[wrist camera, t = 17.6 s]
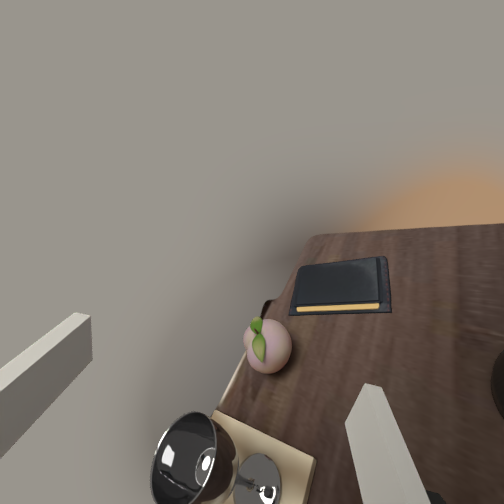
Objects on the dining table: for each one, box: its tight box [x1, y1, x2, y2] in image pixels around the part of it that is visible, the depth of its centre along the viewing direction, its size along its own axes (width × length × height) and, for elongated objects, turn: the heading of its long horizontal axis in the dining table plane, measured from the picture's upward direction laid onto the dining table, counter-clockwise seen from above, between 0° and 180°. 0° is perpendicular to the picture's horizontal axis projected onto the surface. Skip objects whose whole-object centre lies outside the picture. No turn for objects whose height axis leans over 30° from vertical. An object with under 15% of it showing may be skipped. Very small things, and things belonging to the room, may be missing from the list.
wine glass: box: [150, 411, 281, 504], centre depth 29 cm, size 8×8×15 cm
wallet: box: [289, 256, 392, 316], centre depth 54 cm, size 20×2×15 cm
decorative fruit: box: [243, 317, 292, 374], centre depth 45 cm, size 9×8×10 cm
